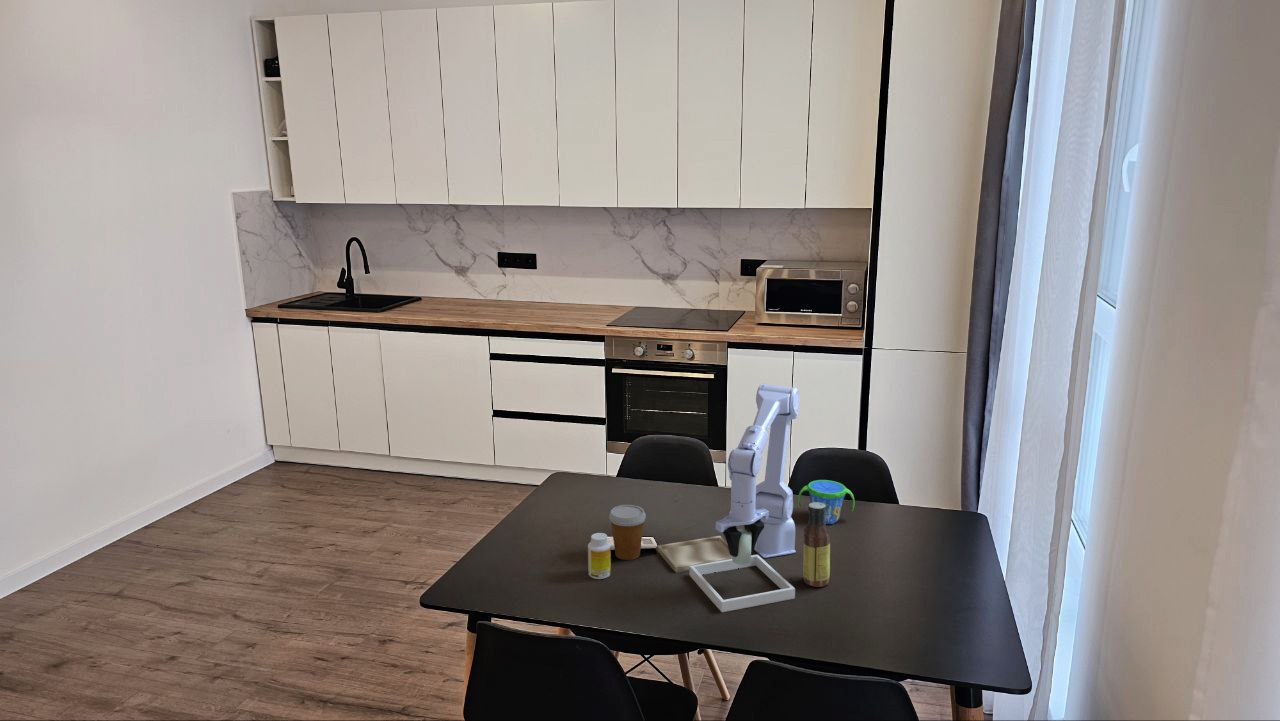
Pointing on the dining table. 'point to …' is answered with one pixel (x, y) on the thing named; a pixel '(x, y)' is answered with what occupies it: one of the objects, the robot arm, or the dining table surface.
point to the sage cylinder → (744, 548)
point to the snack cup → (828, 497)
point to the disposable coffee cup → (627, 530)
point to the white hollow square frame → (746, 601)
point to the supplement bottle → (599, 556)
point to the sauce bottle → (816, 547)
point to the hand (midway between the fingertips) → (741, 552)
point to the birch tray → (694, 552)
